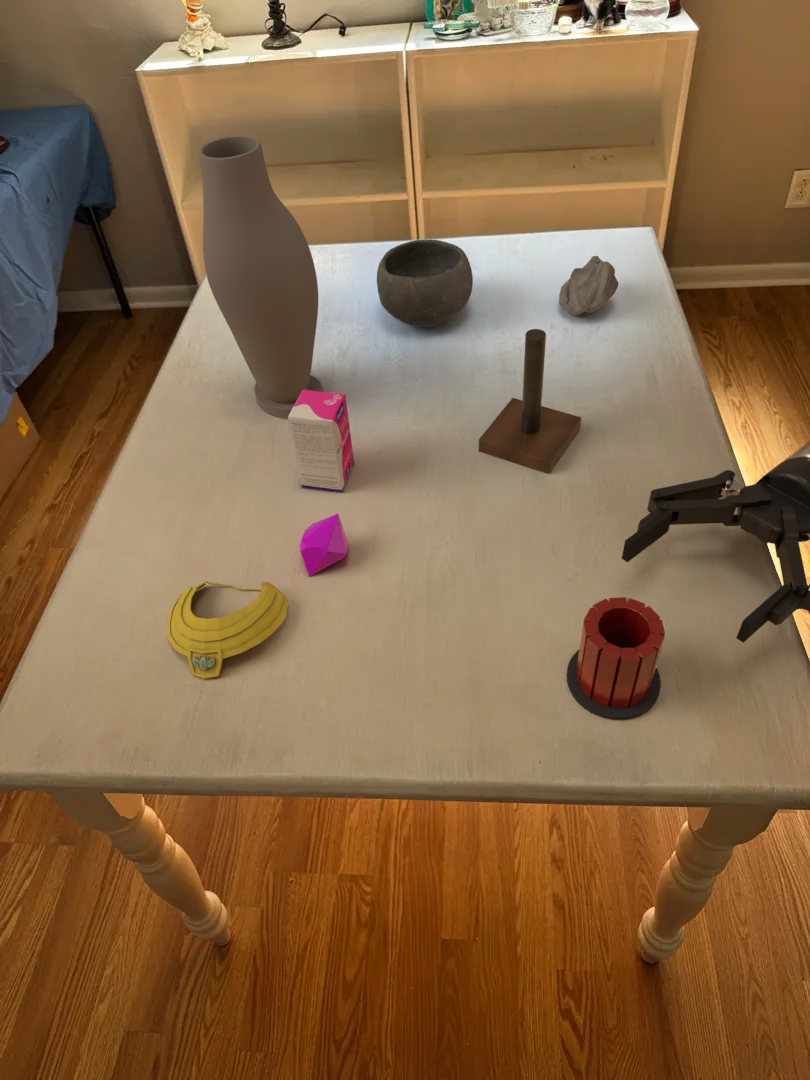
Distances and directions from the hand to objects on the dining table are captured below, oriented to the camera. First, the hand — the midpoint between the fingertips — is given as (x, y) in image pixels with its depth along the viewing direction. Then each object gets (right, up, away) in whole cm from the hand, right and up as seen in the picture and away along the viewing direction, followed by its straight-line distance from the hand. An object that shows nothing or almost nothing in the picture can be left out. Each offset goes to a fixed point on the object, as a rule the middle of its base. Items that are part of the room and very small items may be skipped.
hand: (681, 589), depth 76 cm
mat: (-6, -9, +2) cm, 11 cm away
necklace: (-47, -5, +10) cm, 48 cm away
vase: (-44, +25, +38) cm, 63 cm away
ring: (-6, -9, +2) cm, 11 cm away
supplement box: (-37, +13, +26) cm, 47 cm away
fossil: (+2, +42, +50) cm, 65 cm away
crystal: (-36, +3, +16) cm, 39 cm away
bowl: (-23, +41, +51) cm, 70 cm away
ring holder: (-10, +18, +28) cm, 35 cm away
